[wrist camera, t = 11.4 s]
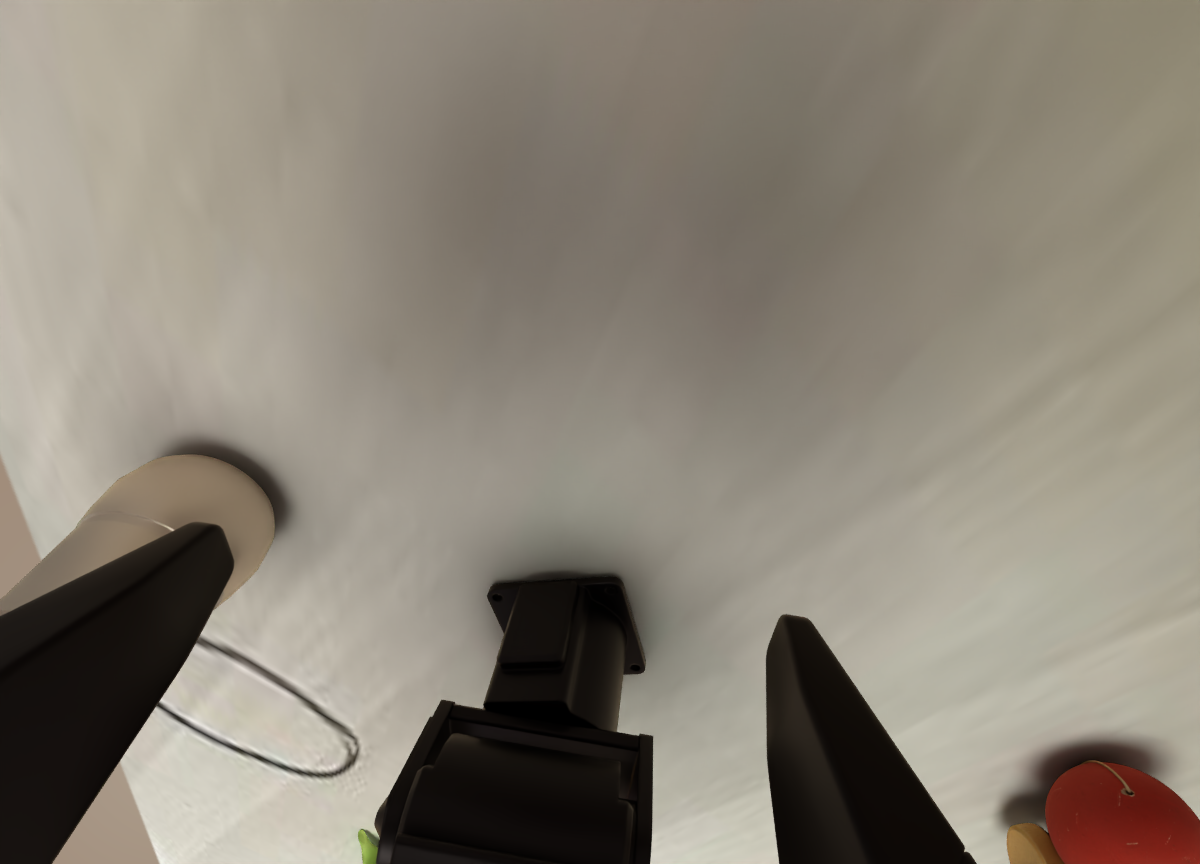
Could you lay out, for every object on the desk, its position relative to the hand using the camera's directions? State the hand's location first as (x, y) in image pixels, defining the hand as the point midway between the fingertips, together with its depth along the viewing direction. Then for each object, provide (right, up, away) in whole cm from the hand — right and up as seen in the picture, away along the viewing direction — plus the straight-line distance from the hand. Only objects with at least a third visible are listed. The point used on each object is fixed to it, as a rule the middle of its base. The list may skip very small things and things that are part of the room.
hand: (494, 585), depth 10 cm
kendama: (+28, -20, +25) cm, 42 cm away
